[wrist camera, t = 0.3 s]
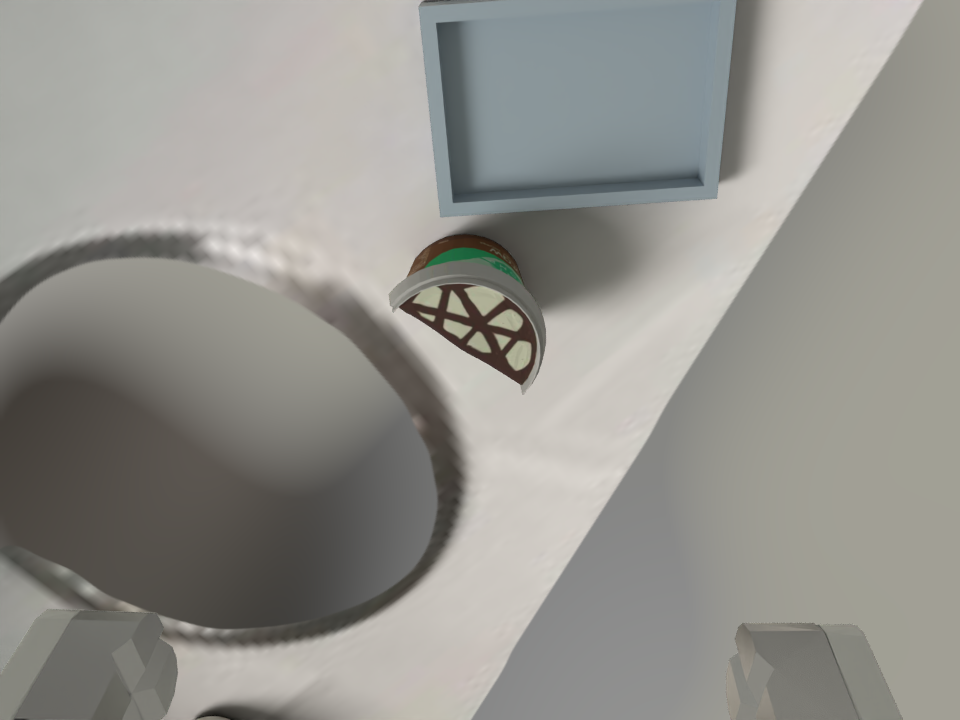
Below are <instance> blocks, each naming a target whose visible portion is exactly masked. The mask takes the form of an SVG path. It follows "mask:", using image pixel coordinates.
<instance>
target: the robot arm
mask: <svg viewBox="0 0 960 720" xmlns="http://www.w3.org/2000/svg"><path fill="white" fill-rule="evenodd" d="M163 628H164V627H163V625H162V623H161V620H160V618H159V616H158V614H157V613H145V612H117V611H89V610H61V609H47V610H46V611H45V612H44V613H42V614H41V615H40V616H39V617H37V618H36V619H35V621H34V622H33V624H32V625H31V627H30V628H29V630H28V632H27V633H26V635H25V636H24V638H23V639H22V641H21V643H20V644H19V646H18V647H17V649H16V650H15V652H14V654H13V655H12V657H11V658H10V660H9V661H8V663H7V665H6V666H5V668H4V669H3V671H2V673H1V674H0V720H161V719H162V718H163V717H164V716H165V715H166V714H167V712H168V709H169V707H170V704H171V701H172V699H173V696H174V693H175V687H176V681H177V675H178V669H177V659H176V656H175V653H174V650H173V648H172V647H171V646H170V645H169V644H167V643H166V642H164V641H163V640H161V639H160V638H159V637H160V635H161V633H162V631H163ZM735 642H736V645H737V649H738V653H737V654H736V655H734V656H733V657H732V658H730V659H729V663H728V668H727V673H726V696H727V703H728V710H729V715H730V719H731V720H903V718H902V716H901V714H900V712H899V709H898V707H897V705H896V703H895V701H894V699H893V696H892V694H891V692H890V690H889V687H888V685H887V683H886V681H885V679H884V677H883V674H882V672H881V670H880V668H879V665H878V663H877V661H876V659H875V656H874V654H873V652H872V650H871V648H870V645H869V643H868V641H867V639H866V636H865V634H864V633H863V631H862V630H860V628H859V627H858V626H856V625H851V624H847V625H846V624H845V625H844V624H843V625H841V624H840V625H839V624H838V625H836V624H835V625H816V624H814V623H742V624H741V625H740V626H739V627H738V630H737V633H736V637H735Z"/></svg>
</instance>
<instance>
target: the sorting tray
mask: <svg viewBox="0 0 960 720" xmlns="http://www.w3.org/2000/svg"><path fill="white" fill-rule="evenodd" d="M736 2H737V0H444V1H431V2H421V4H420V5H419V16H420V25H421V35H422V45H423V54H424V64H425V74H426V83H427V93H428V102H429V112H430V122H431V131H432V141H433V151H434V160H435V170H436V180H437V189H438V199H439V209H440V217H451V216H466V215H481V214H496V213H510V212H525V211H540V210H555V209H570V208H585V207H600V206H615V205H629V204H644V203H659V202H674V201H689V200H704V199H717V193H718V183H719V173H720V163H721V153H722V143H723V133H724V123H725V113H726V102H727V92H728V82H729V72H730V62H731V52H732V42H733V32H734V22H735V12H736Z"/></svg>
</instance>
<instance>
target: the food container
mask: <svg viewBox="0 0 960 720" xmlns="http://www.w3.org/2000/svg"><path fill="white" fill-rule="evenodd" d="M389 300H390V306H392V307H393V311H392V312H393V313H394V312H395V310H396V309H397V308H398V307H399V308H400V309H402V310H403V311H405V312H406V313H408V314H410V315H412V316H414V317H415V318H417V319H419V320H420V321H422V322H423V323H425V324H426V325H428V326H429V327H431V328H432V329H434V330H435V331H437V332H438V333H439V334H441V335H442V336H443V337H445V338H446V339H447V340H449V341H450V342H452V343H453V344H454V345H456V346H457V347H459V348H460V349H461V350H463V351H465V352H467V353H468V354H470V355H472V356H474V357H476V358H478V359H480V360H481V361H483V362H485V363H487V364H489V365H490V366H492V367H493V368H495V369H497V370H498V371H500V372H501V373H503V374H505V375H506V376H508V377H509V378H511V379H512V380H514V381H516V382H517V383H519V384H520V385H521V390H522V394H523V395H524V394H525V392H526V391H527V390H528V388H529V387H530V386H531V384H532V383H533V381H534V380H535V378H536V376H537V374H538V372H539V369H540V366H541V364H542V360H543V356H544V351H545V345H546V328H545V323H544V318H543V316H542V313H541V311H540V308H539V306H538V304H537V303H536V301H535V300H534V298H533V296H532V295H531V294H530V293H529V292H528V291H527V290H526V288H525V287H524V284H523V281H522V277H521V275H520V272H519V269H518V266H517V264H516V261H515V260H514V259H513V258H512V256H511V255H510V254H509V253H508V251H507V250H506V249H504V248H503V247H502V246H501V245H499V244H498V243H496V242H494V241H492V240H490V239H487V238H485V237H481V236H477V235H468V234H463V235H454V236H449V237H445V238H443V239H440V240H438V241H436V242H434V243H432V244H431V245H429V246H428V247H427V248H425V249H424V250H423V251H422V252H421V253H420V254H419V255H418V256H417V257H416V258H415V260H414V262H413V265H412V267H411V269H410V271H409V273H408V276H407V278H406V279H404V280H403V281H402V282H401V283H399V284H398V285H397V286H396V287H395V288H394V289H393V290H392V291H391V292H390V293H389Z"/></svg>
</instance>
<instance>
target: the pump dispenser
mask: <svg viewBox="0 0 960 720" xmlns="http://www.w3.org/2000/svg"><path fill="white" fill-rule="evenodd" d="M196 720H230V719H227V718H224V717H218V716H208V717H202V718H199V719H196Z"/></svg>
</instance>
